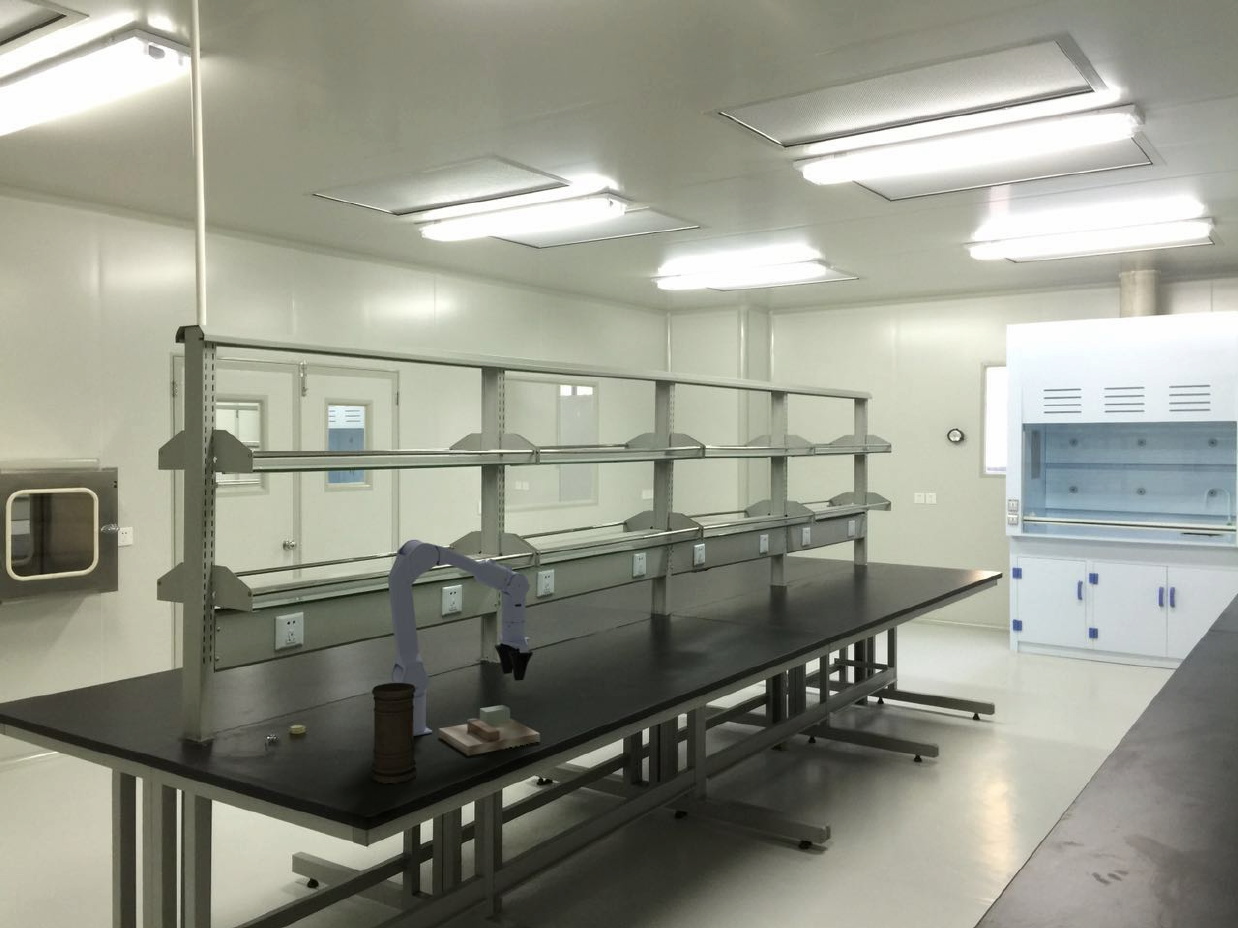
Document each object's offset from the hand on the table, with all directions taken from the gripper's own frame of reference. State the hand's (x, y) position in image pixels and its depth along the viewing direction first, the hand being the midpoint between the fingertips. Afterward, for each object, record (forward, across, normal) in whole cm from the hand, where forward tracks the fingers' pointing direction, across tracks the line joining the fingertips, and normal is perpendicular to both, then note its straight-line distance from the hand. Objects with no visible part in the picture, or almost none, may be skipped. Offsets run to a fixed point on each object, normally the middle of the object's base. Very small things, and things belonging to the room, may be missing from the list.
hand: (513, 676), depth 242 cm
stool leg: (+8, -17, +14) cm, 24 cm away
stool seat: (+10, -15, +12) cm, 21 cm away
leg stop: (+8, -9, +8) cm, 14 cm away
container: (+10, -29, +37) cm, 48 cm away
